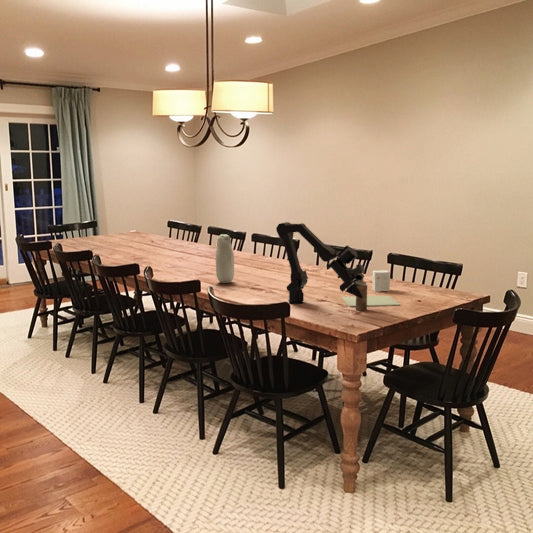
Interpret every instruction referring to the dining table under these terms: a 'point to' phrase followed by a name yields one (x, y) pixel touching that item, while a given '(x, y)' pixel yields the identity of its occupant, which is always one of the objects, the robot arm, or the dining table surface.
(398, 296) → the dining table surface
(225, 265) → the white tall cylinder
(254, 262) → the dining table surface
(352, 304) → the placemat
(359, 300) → the pepper mill
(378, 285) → the small box
